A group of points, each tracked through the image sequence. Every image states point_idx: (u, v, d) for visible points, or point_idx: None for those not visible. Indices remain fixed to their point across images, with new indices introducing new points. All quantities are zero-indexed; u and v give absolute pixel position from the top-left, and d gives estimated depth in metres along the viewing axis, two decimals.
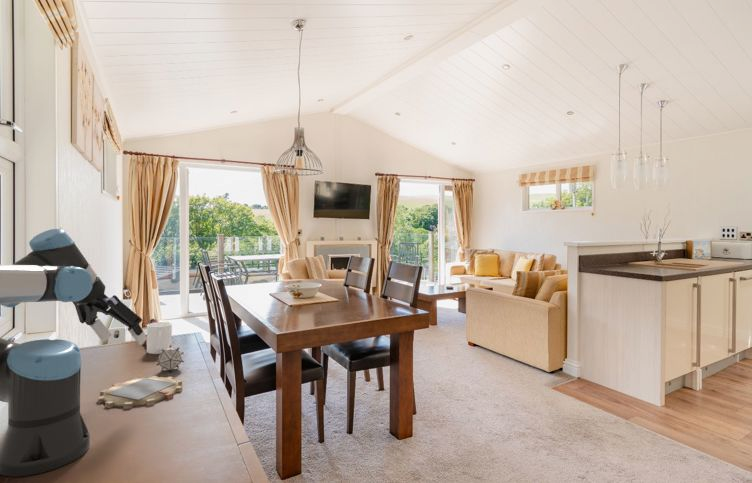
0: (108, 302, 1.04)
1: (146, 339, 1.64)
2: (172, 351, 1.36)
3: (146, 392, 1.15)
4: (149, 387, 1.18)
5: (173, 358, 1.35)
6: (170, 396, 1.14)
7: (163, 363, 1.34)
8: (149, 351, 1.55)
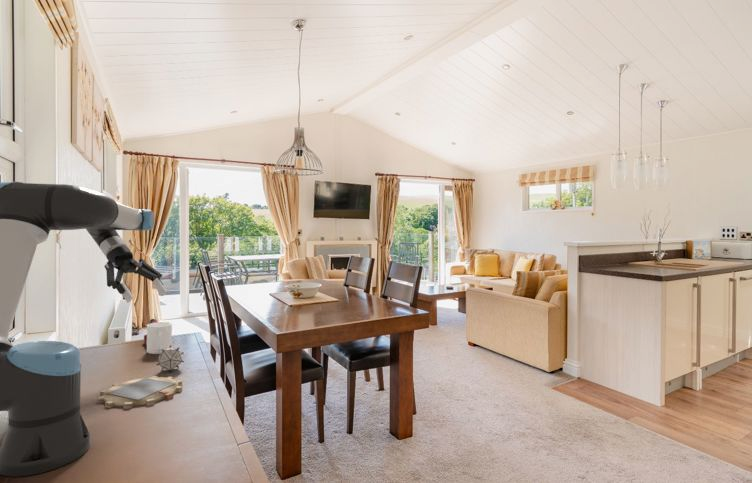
0: (141, 259, 1.49)
1: (146, 339, 1.64)
2: (172, 351, 1.36)
3: (146, 392, 1.15)
4: (149, 387, 1.18)
5: (173, 358, 1.35)
6: (170, 396, 1.14)
7: (163, 363, 1.34)
8: (149, 351, 1.55)
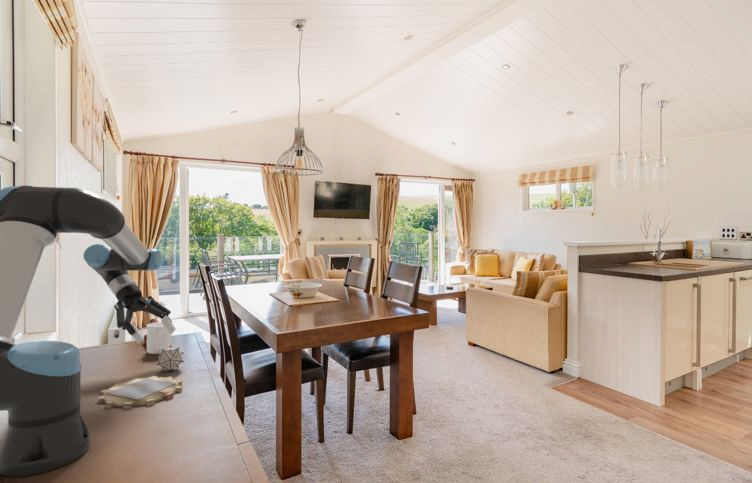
0: (150, 296, 1.49)
1: (146, 339, 1.64)
2: (172, 351, 1.36)
3: (146, 392, 1.15)
4: (149, 387, 1.18)
5: (173, 358, 1.35)
6: (170, 396, 1.14)
7: (163, 363, 1.34)
8: (149, 351, 1.55)
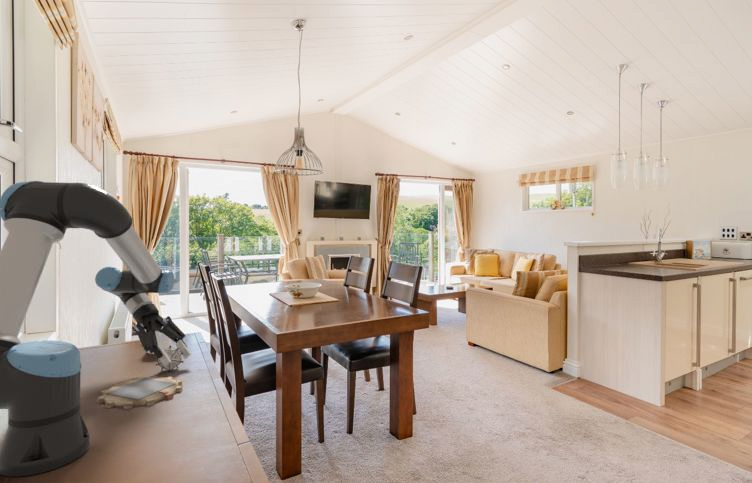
0: None
1: None
2: (171, 351, 1.36)
3: (146, 392, 1.15)
4: (149, 387, 1.18)
5: (172, 358, 1.34)
6: (170, 396, 1.14)
7: (162, 363, 1.34)
8: None
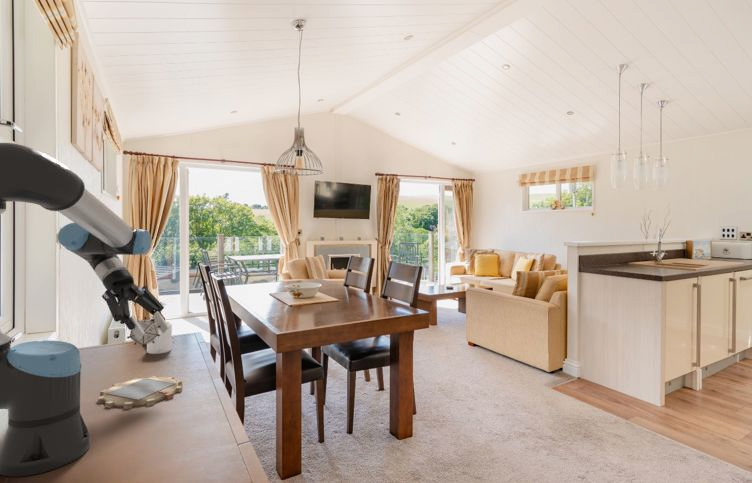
0: (145, 286, 1.28)
1: None
2: (146, 323, 1.18)
3: (146, 392, 1.15)
4: (149, 387, 1.18)
5: (147, 330, 1.16)
6: (170, 396, 1.14)
7: (135, 336, 1.15)
8: (149, 351, 1.55)
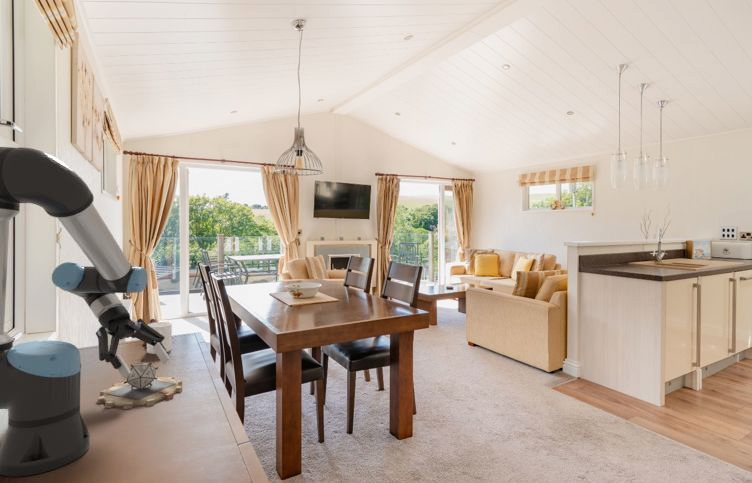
0: (140, 319, 1.26)
1: None
2: (143, 367, 1.16)
3: (146, 392, 1.15)
4: (149, 387, 1.18)
5: (144, 375, 1.15)
6: (170, 396, 1.14)
7: (131, 381, 1.14)
8: (149, 351, 1.55)
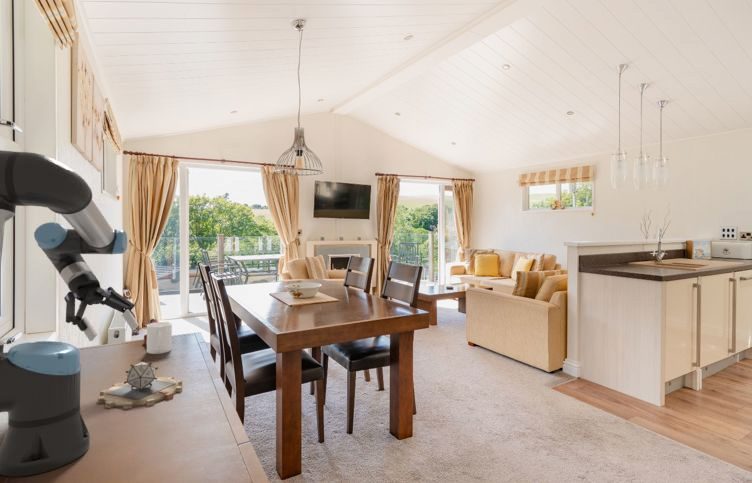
0: (110, 287, 1.30)
1: (146, 339, 1.64)
2: (143, 367, 1.16)
3: (146, 392, 1.15)
4: (149, 387, 1.18)
5: (144, 375, 1.15)
6: (170, 396, 1.14)
7: (131, 381, 1.14)
8: (149, 351, 1.55)
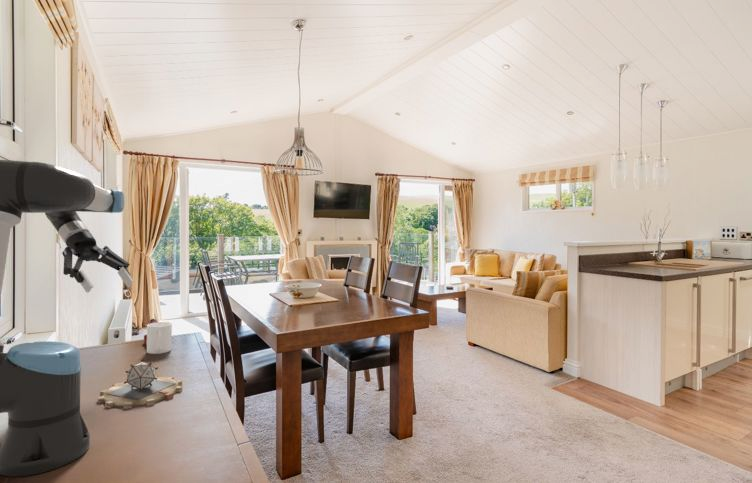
0: (106, 246, 1.36)
1: (146, 339, 1.64)
2: (143, 367, 1.16)
3: (146, 392, 1.15)
4: (149, 387, 1.18)
5: (144, 375, 1.15)
6: (170, 396, 1.14)
7: (131, 381, 1.14)
8: (149, 351, 1.55)
